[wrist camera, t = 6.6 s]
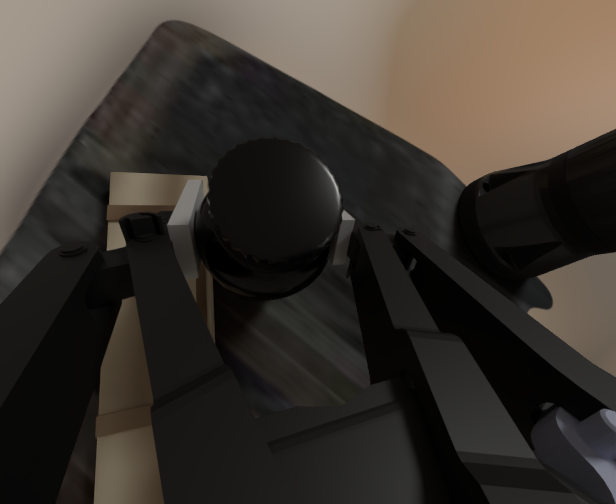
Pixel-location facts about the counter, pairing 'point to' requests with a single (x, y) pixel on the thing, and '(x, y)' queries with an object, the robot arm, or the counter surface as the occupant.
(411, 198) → the counter surface
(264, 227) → the supplement bottle
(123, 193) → the birch board
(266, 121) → the counter surface
